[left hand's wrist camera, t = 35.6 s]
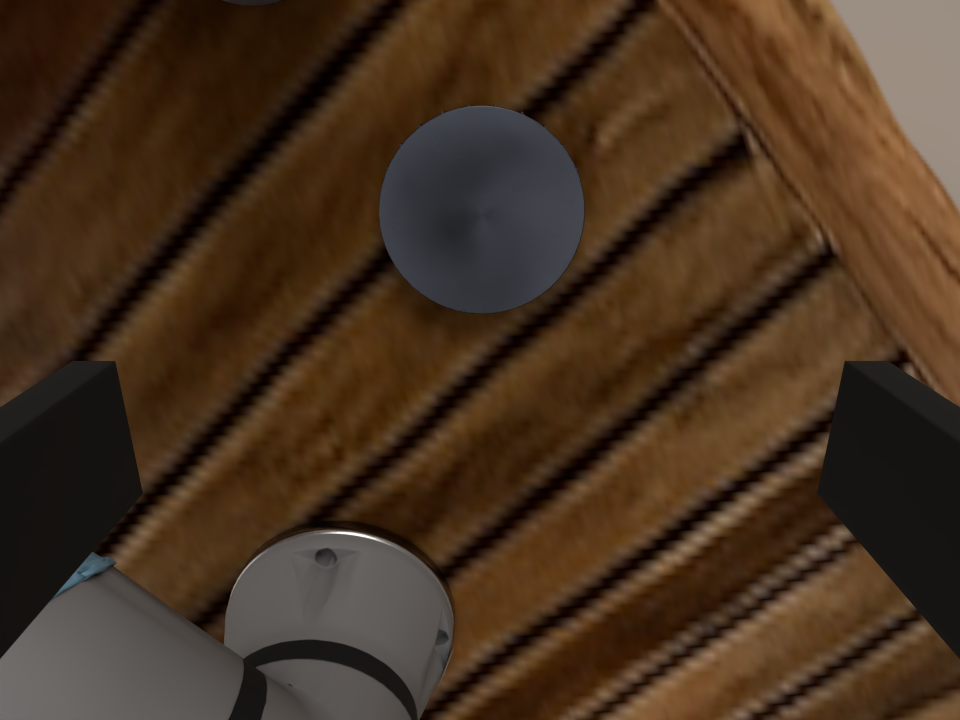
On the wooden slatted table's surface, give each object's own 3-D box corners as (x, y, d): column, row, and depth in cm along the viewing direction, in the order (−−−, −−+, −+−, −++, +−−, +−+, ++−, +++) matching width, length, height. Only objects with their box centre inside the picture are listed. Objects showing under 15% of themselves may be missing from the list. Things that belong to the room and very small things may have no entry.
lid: (366, 117, 35) (359, 118, 33) (573, 90, 35) (579, 90, 33) (400, 314, 39) (395, 325, 37) (586, 292, 39) (592, 302, 37)
